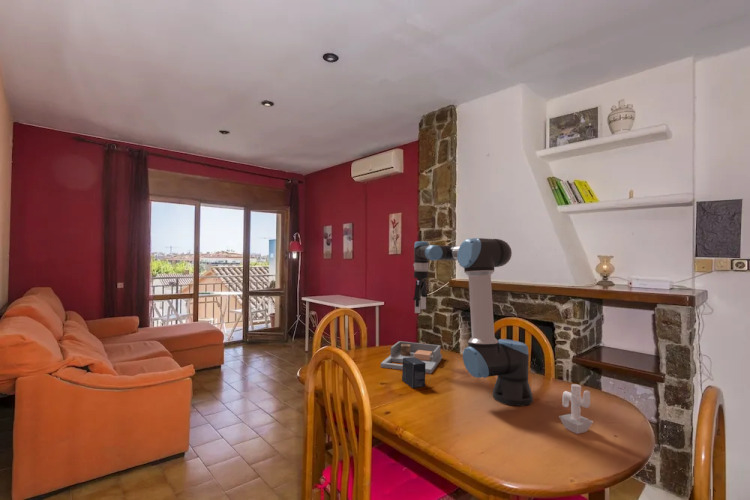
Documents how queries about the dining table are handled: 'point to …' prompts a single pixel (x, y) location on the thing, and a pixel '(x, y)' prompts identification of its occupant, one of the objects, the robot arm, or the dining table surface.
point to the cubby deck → (414, 347)
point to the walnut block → (405, 349)
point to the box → (413, 372)
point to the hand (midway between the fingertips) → (420, 310)
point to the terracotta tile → (423, 355)
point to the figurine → (576, 410)
